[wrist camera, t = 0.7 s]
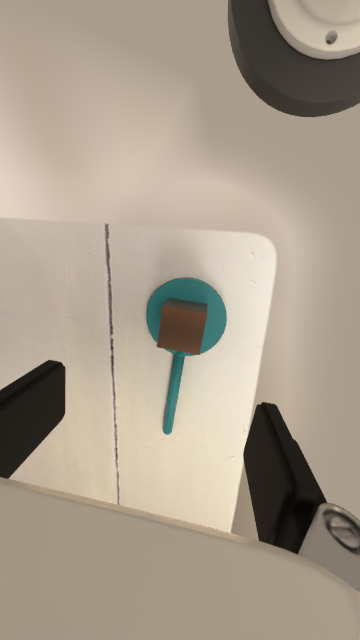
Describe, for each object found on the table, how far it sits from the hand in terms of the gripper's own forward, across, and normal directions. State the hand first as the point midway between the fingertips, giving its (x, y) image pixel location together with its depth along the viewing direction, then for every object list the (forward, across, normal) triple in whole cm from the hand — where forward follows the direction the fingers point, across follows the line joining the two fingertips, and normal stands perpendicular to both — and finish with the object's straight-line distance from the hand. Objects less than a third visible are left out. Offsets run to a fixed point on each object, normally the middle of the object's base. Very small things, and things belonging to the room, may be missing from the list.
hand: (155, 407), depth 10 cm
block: (+15, 0, 0) cm, 15 cm away
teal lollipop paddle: (+16, 0, +5) cm, 17 cm away
